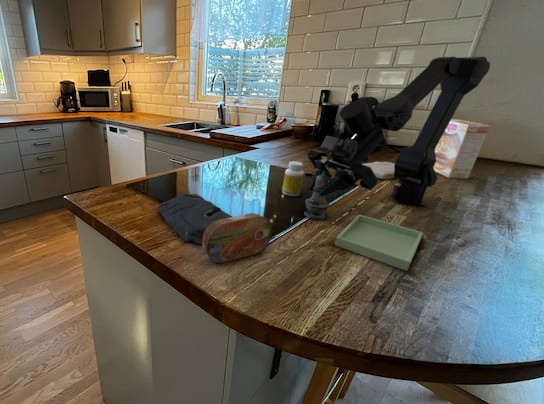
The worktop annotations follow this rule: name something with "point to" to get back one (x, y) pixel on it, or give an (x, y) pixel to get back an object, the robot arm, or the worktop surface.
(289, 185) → the supplement bottle
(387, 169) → the washcloth
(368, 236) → the sage tray
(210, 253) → the tin
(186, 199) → the navy blue pouch
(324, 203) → the grey tall rounded piece
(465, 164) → the coffeecake box
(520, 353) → the worktop surface
